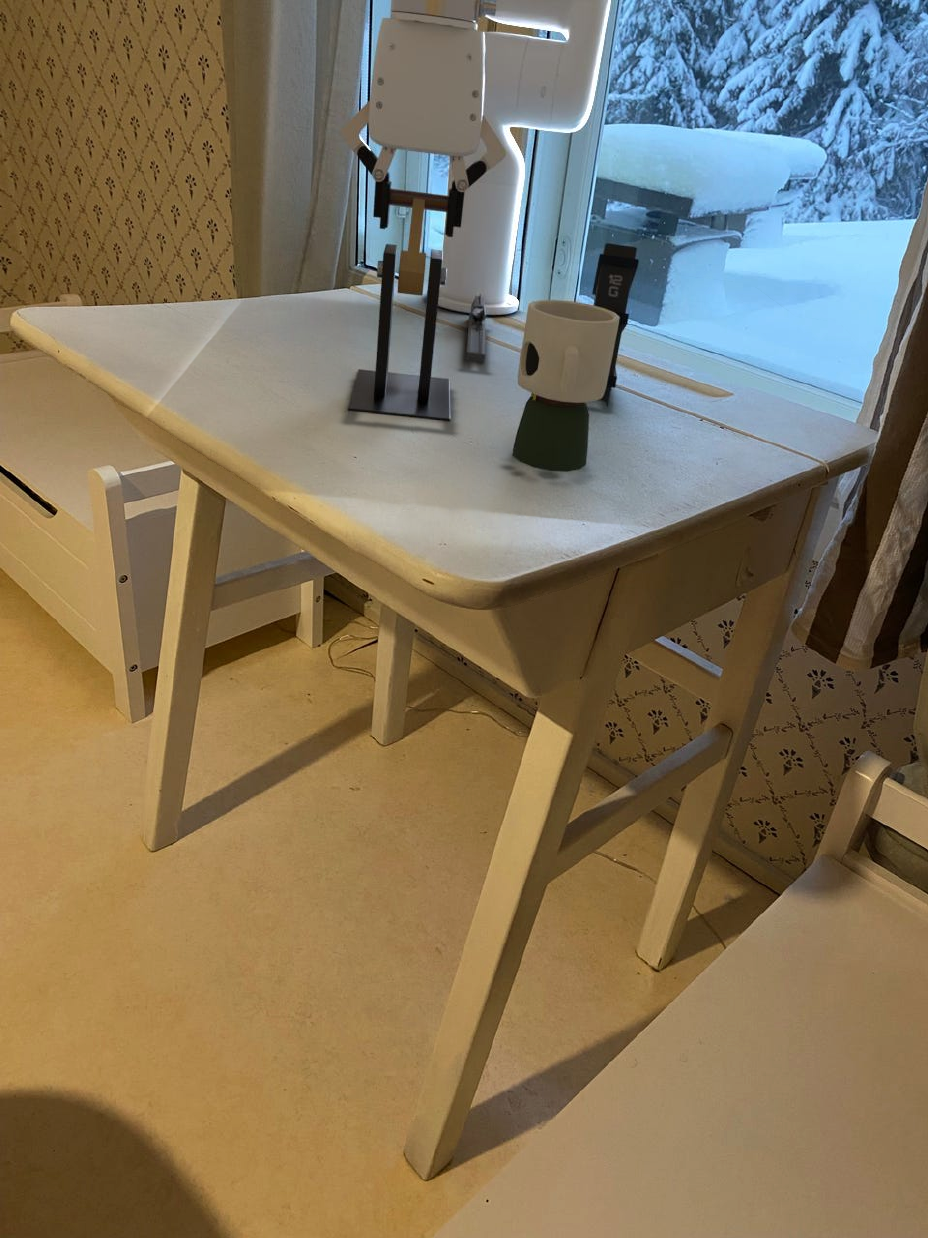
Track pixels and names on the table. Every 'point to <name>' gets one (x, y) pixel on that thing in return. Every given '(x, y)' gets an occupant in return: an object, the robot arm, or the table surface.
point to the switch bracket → (381, 386)
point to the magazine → (615, 293)
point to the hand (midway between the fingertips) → (416, 228)
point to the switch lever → (415, 236)
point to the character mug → (562, 380)
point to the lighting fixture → (476, 332)
